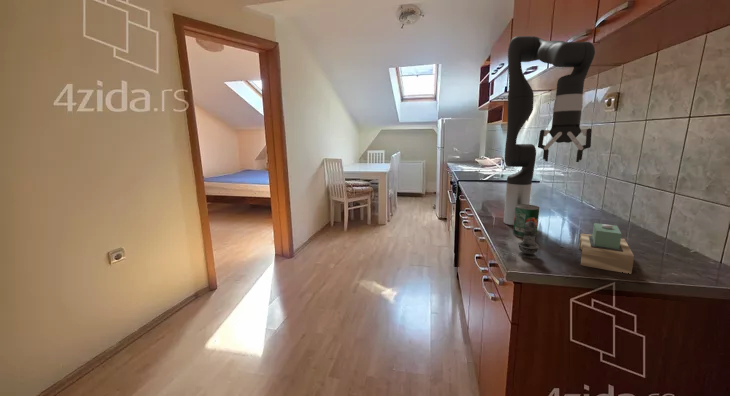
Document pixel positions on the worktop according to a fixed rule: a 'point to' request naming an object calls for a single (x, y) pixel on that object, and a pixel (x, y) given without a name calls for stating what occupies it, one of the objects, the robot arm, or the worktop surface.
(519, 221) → the canned tomato
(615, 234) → the housing
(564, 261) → the worktop surface
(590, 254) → the stand
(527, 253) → the grey chess piece
